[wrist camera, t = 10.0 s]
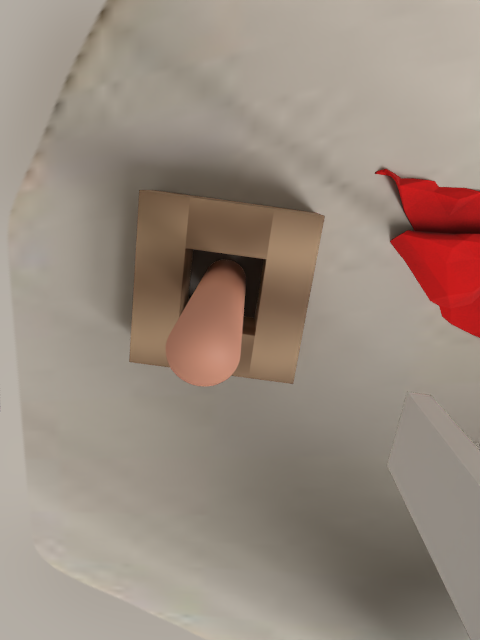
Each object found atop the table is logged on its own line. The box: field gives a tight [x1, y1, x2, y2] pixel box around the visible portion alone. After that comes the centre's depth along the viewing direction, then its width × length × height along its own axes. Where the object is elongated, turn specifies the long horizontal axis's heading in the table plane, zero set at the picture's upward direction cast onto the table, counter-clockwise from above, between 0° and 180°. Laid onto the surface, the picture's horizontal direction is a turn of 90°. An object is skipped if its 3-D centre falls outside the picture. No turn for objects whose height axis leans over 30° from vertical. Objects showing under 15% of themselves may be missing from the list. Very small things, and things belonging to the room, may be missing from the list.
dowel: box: [166, 259, 246, 386], centre depth 23 cm, size 3×3×14 cm
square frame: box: [129, 190, 325, 384], centre depth 28 cm, size 11×11×4 cm
